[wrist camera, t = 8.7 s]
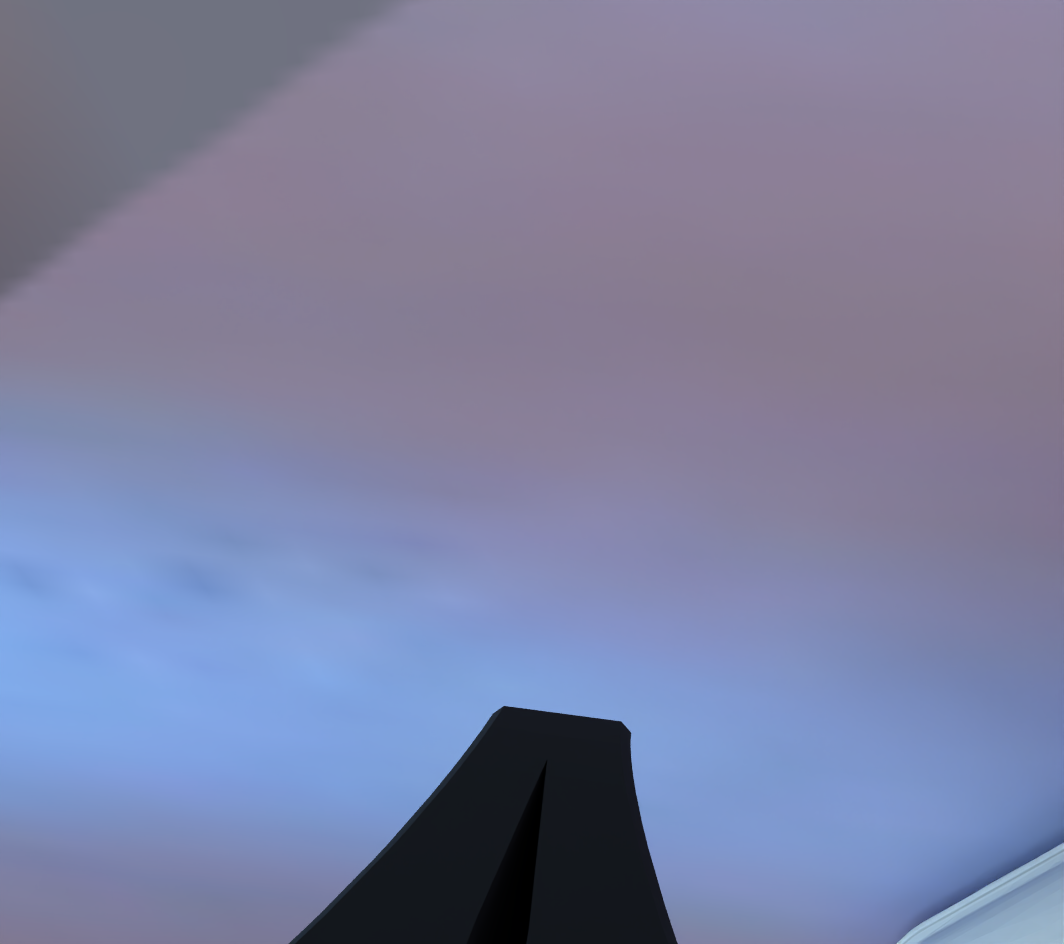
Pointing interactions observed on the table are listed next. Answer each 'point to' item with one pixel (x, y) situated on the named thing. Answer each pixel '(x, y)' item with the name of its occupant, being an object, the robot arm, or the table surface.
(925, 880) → the table surface
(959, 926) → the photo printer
